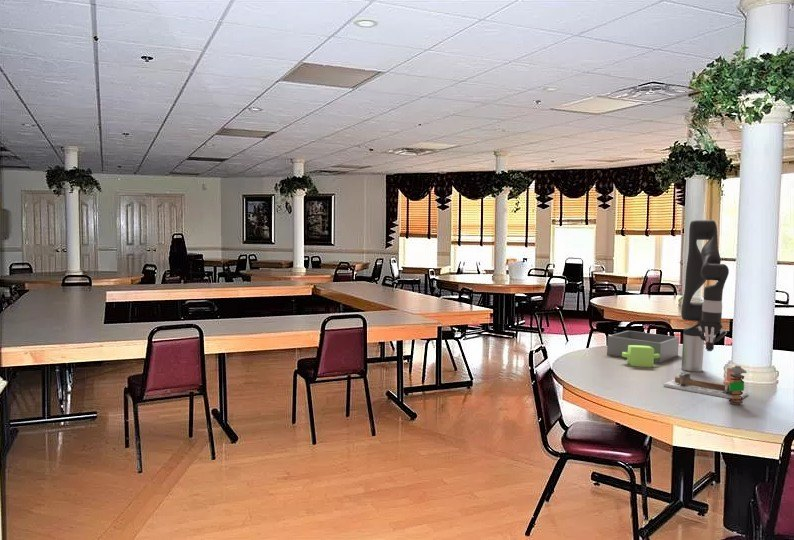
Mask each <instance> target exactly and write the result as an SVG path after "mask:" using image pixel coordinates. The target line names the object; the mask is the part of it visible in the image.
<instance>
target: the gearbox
mask: <svg viewBox="0 0 794 540" xmlns="http://www.w3.org/2000/svg"><path fill="white" fill-rule="evenodd" d="M622 356H623V357H622V358H627V361H626V362H627V364H629V366H631V367H641V368H642V367H643V368H644V367H645V368H651V367H654V363H655V362H654V358H659V357H660V355H659V354H654V348H652V347H650V346H641V345H628V352H622Z"/></svg>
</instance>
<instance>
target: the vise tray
mask: <svg viewBox="0 0 794 540" xmlns="http://www.w3.org/2000/svg"><path fill="white" fill-rule="evenodd" d="M679 342H680V337H679V336H673V335H665V334H656V333H652V332H651V333H648V332H642V331H635V330H624V331H622V332H621V331H620V332H616V333H614V334H610V335H607V342H606V343H607V344H606V346H607V347H606V355H609V356H614V357H615V356H616V357H622V358H624V357H623V356H622V352H628V345H641V346H650V347H652V348H654V354H659V355H660V357H659V358H654V363H659V364H661V363H663V362H665V361H667V360H670V359H673V358H675V357H677V356H679V348H680V347H679V346H680V345H679V344H680V343H679Z"/></svg>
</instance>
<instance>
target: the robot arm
mask: <svg viewBox="0 0 794 540" xmlns="http://www.w3.org/2000/svg"><path fill="white" fill-rule="evenodd" d="M688 231H689V232H688V233H689V234H688V254H687V260H686V261H687V262H686V269H685V279H684V281H685V282H684V290H683V291H684V293H683V298H682V304H681V310H680V311H681V314H680V315H681V318H682V320H683V321H691V322H697V323H696V324H694V325H691V326H687V327H685V328H684V329H683V334H682V335H683V338H682V350H681V351H682V353H681V354H682V355H681V370H683V371H686V372H687V371H688V372H693V373H694V372H697V373H698V372H702V371H703V366H704V365H703V363H704V361H703V360H704V346H705V350H706V351H707V352H713V351H714V348H715V343H717V342H719V341H720V340H721V339H722V338H723V337H724V336H725V335H727V333H728V331H727V330H725V329H724V328H723V325H722V315H723V293H724V292H723V291H724V287H725V284H726V281H727V279H728V276H729V273H730V272H729V271H730V269H729V267H728V266H727V264H725V263H721V262H722V260H721V259H722V258H721V255H720V252H719V243H718V242H719V239H718V226H717V224H716V221H715V220H712V219H693V220H691V221H690V224H689V230H688ZM697 241H707V242H706V243H705V244H704V245H703V246H702V248H701V251H700V249H699V247H698V242H697ZM706 281H716V283H715V284H712V285H706V286H705V287H704V288H703V302H702V301H700V302H699V301H692V299H693V297H694V295H695V294H696V292H697V291H699V289H700V288H702V286H703V285H704V284H705V282H706ZM718 333H719V335H718V336H717V334H718ZM716 336H717V337H716Z"/></svg>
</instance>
